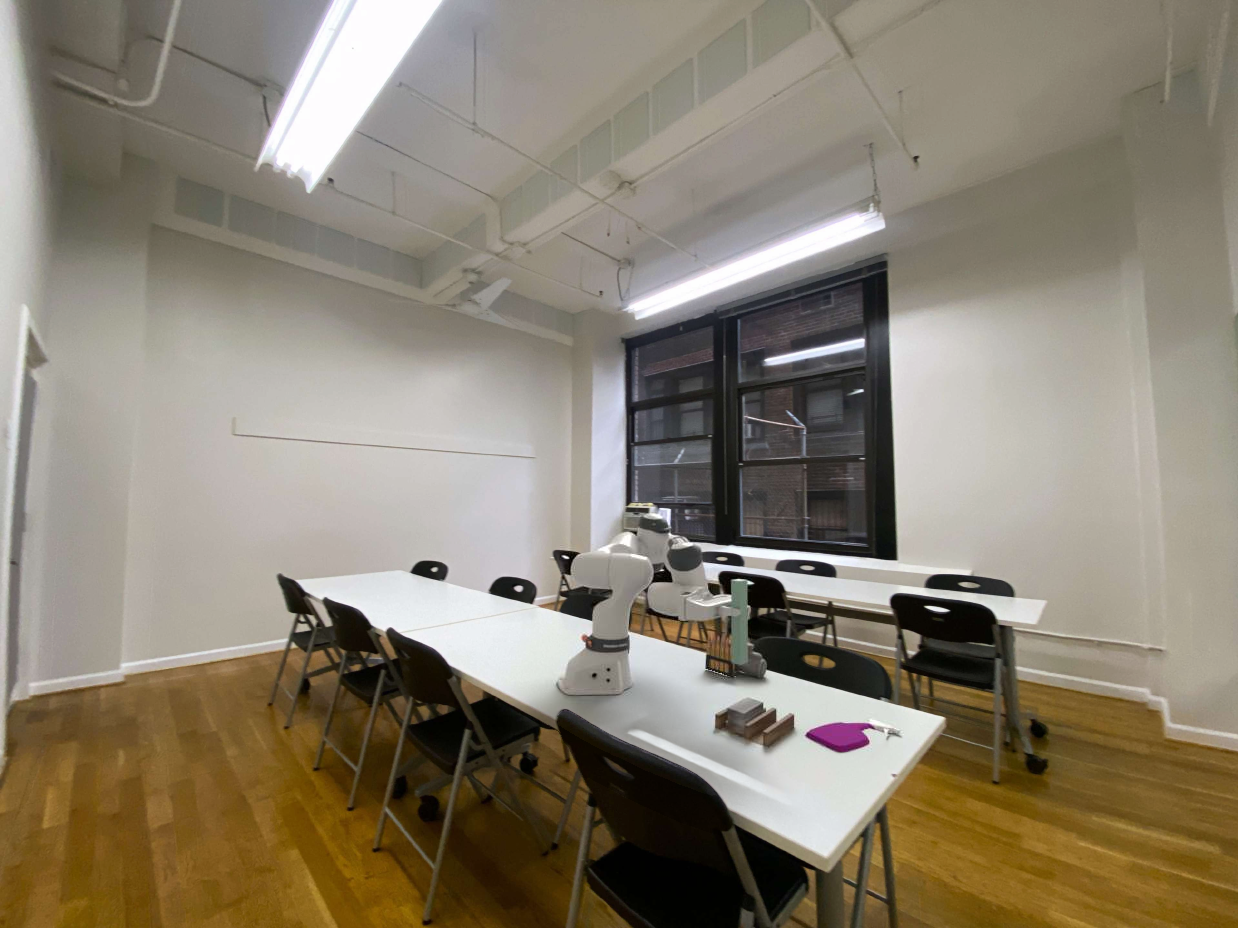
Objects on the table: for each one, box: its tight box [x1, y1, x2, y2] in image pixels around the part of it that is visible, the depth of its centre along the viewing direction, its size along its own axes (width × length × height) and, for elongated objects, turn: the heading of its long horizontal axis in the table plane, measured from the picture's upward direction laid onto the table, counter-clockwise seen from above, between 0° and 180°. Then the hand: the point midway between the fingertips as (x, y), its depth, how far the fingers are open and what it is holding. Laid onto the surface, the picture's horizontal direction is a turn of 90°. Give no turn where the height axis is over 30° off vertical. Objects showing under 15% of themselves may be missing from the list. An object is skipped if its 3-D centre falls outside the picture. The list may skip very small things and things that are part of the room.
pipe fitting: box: [736, 642, 768, 679], centre depth 159 cm, size 12×8×10 cm
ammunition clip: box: [704, 632, 737, 678], centre depth 159 cm, size 11×2×12 cm, turn 45°
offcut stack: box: [725, 697, 767, 735], centre depth 118 cm, size 5×11×4 cm, turn 137°
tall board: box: [730, 578, 749, 665], centre depth 121 cm, size 2×4×20 cm
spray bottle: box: [804, 718, 901, 753], centre depth 115 cm, size 3×11×25 cm
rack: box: [714, 701, 796, 748], centre depth 116 cm, size 14×14×4 cm
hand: (744, 611), depth 120 cm, fingers closed on tall board, 3 cm apart
